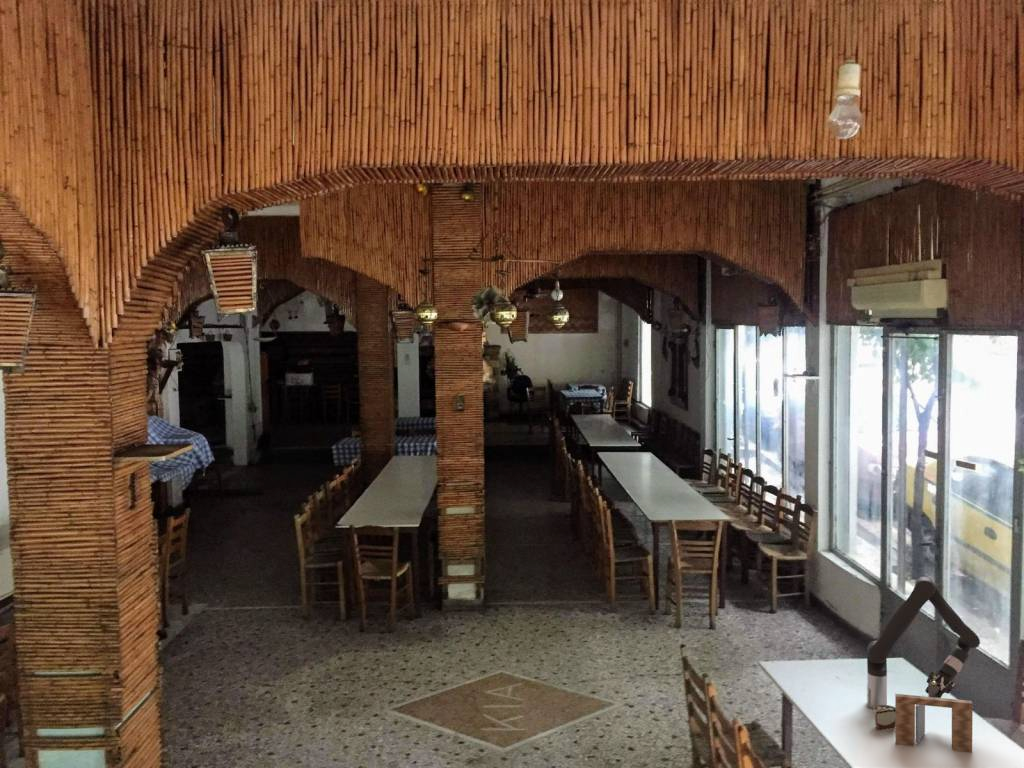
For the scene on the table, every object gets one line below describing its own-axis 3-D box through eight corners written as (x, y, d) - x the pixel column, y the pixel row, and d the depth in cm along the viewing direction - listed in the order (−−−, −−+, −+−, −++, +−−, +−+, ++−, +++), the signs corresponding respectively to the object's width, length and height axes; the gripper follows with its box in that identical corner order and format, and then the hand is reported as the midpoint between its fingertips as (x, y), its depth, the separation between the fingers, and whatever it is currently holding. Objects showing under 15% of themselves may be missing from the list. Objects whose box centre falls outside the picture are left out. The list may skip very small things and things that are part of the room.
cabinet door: (918, 743, 397) (918, 706, 395) (912, 742, 398) (912, 704, 397) (924, 732, 408) (925, 695, 407) (919, 730, 409) (919, 694, 408)
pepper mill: (929, 704, 411) (929, 683, 411) (927, 700, 416) (927, 678, 416) (942, 706, 410) (942, 684, 409) (940, 701, 415) (939, 679, 414)
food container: (889, 722, 419) (889, 702, 419) (897, 728, 413) (897, 708, 413) (867, 725, 417) (867, 705, 416) (875, 731, 411) (875, 711, 410)
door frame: (896, 744, 398) (896, 696, 396) (895, 741, 401) (895, 693, 399) (972, 752, 388) (972, 703, 387) (970, 749, 391) (971, 700, 390)
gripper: (935, 657, 421) (916, 685, 418) (958, 668, 407) (939, 696, 404) (943, 666, 423) (924, 693, 420) (967, 677, 409) (947, 705, 406)
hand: (931, 695), depth 412 cm, fingers closed on pepper mill, 5 cm apart
